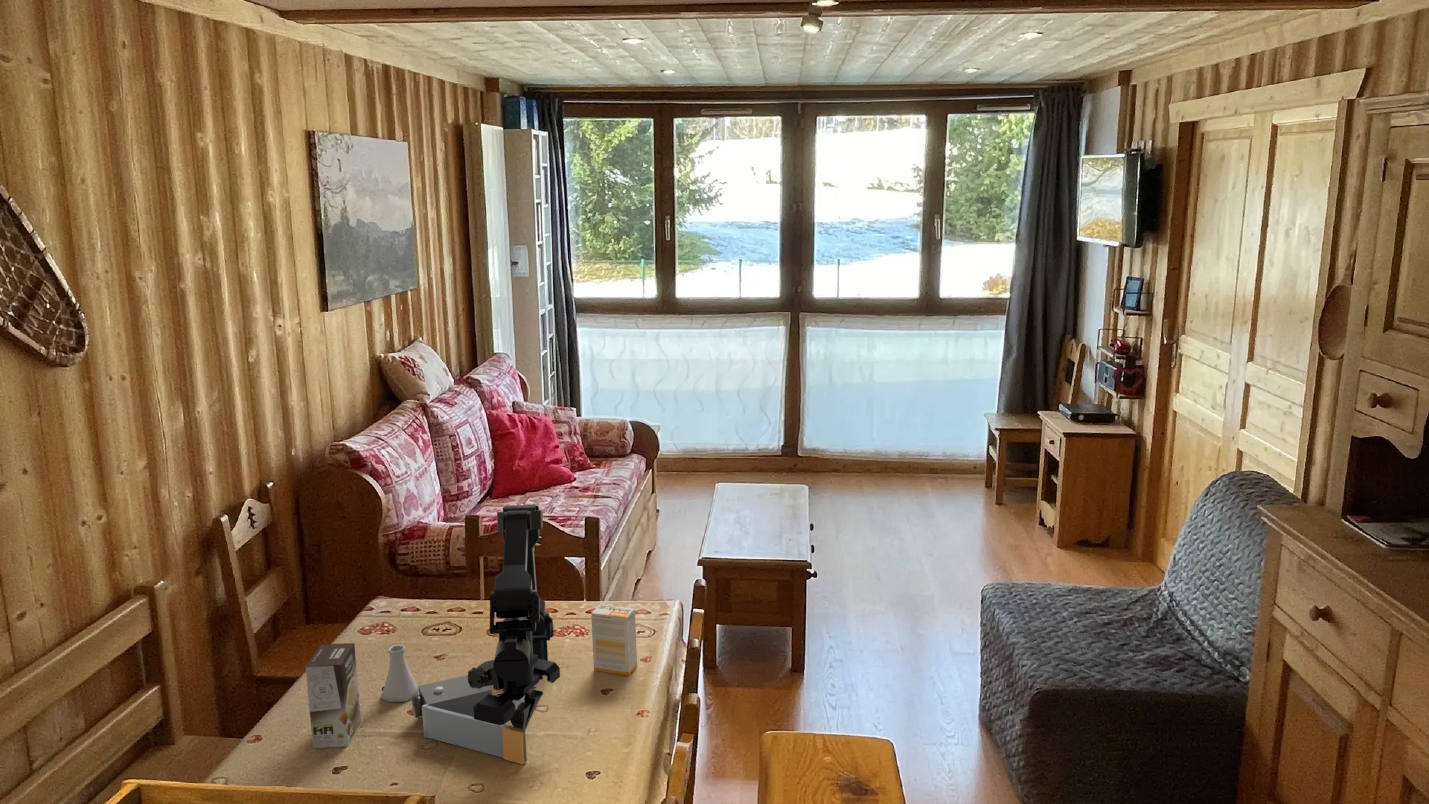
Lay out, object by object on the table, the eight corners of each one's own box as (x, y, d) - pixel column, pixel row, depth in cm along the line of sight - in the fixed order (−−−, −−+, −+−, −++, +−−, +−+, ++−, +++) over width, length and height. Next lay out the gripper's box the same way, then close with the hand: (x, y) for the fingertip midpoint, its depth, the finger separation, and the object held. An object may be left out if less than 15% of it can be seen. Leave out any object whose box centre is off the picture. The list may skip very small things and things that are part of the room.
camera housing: (482, 699, 195) (480, 669, 194) (493, 718, 188) (491, 686, 187) (412, 716, 189) (409, 685, 188) (420, 736, 182) (418, 703, 181)
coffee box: (348, 747, 179) (341, 665, 176) (312, 749, 179) (304, 666, 175) (362, 720, 188) (355, 642, 185) (327, 722, 188) (319, 643, 184)
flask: (408, 705, 194) (404, 658, 192) (374, 701, 195) (370, 654, 193) (425, 687, 201) (422, 641, 199) (393, 684, 202) (389, 638, 200)
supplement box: (638, 666, 209) (636, 608, 206) (628, 676, 204) (627, 617, 202) (602, 660, 212) (600, 603, 209) (592, 670, 207) (590, 612, 204)
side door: (527, 760, 174) (525, 729, 173) (522, 764, 173) (521, 733, 172) (426, 733, 183) (424, 704, 182) (421, 737, 182) (419, 707, 181)
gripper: (508, 623, 184) (512, 700, 187) (444, 668, 167) (449, 751, 170) (559, 633, 179) (563, 712, 183) (499, 680, 163) (504, 765, 166)
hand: (520, 734), depth 176 cm, fingers closed
